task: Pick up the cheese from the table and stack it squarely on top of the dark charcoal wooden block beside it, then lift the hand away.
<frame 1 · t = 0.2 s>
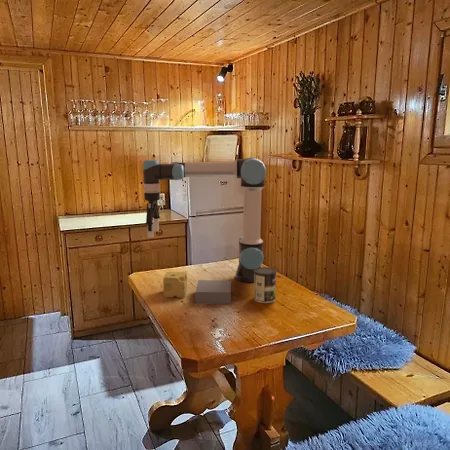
hand: (153, 234, 203), 27 cm above the table, tool pointing down, fingers open, 13 cm apart
cheese: (175, 294, 198), on the table
charcoal block: (213, 297, 194), on the table
coffee can: (264, 299, 191), on the table
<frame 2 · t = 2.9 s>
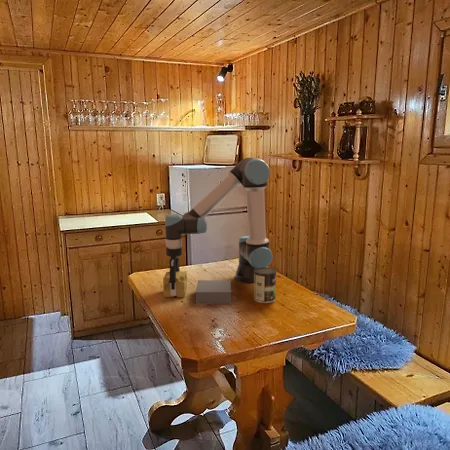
hand: (175, 291, 198), 1 cm above the table, tool pointing down, fingers closed on cheese, 10 cm apart
cheese: (175, 294, 198), on the table, touching gripper
everything else where it was.
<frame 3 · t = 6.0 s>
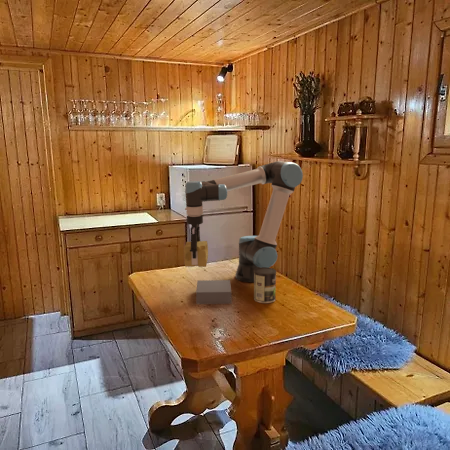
hand: (196, 261, 192), 17 cm above the table, tool pointing down, fingers closed on cheese, 10 cm apart
cheese: (196, 264, 193), point 16 cm above the table, touching gripper
everything else where it was.
when the fingers open (9 cm above the table, at t = 8.8 s): cheese drops 2 cm, point 5 cm above the table.
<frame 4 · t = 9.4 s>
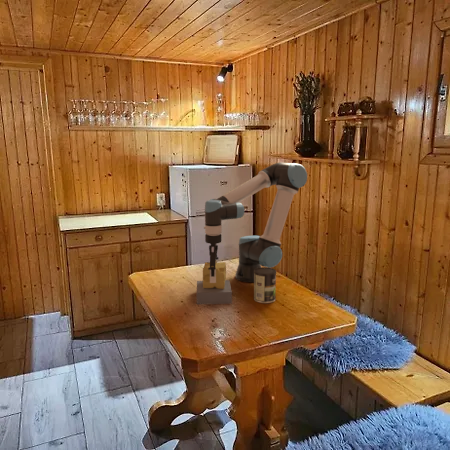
hand: (213, 277, 192), 10 cm above the table, tool pointing down, fingers open, 13 cm apart
cheese: (214, 285, 194), point 5 cm above the table
everything else where it was.
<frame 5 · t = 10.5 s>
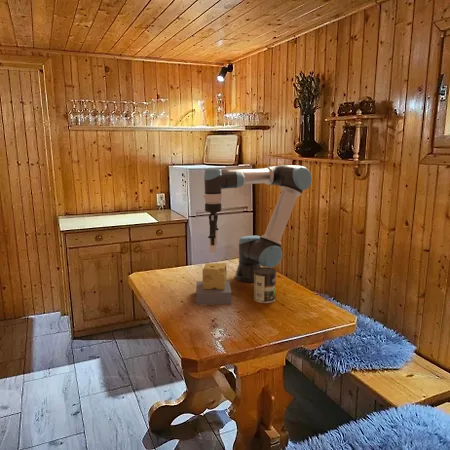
hand: (213, 247, 189), 24 cm above the table, tool pointing down, fingers open, 13 cm apart
cheese: (214, 286, 193), point 5 cm above the table
everything else where it was.
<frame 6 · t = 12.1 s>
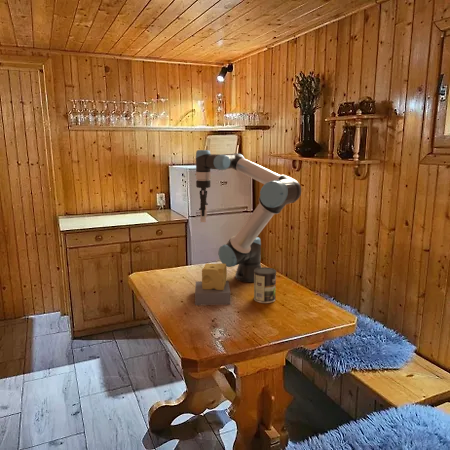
hand: (203, 219, 218), 32 cm above the table, tool pointing down, fingers open, 13 cm apart
cheese: (214, 286, 192), point 5 cm above the table, touching charcoal block
charcoal block: (212, 298, 193), on the table, touching cheese
everything else where it was.
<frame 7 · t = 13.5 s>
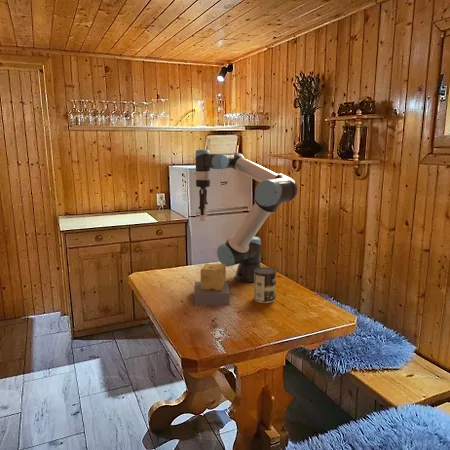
hand: (203, 218, 220), 32 cm above the table, tool pointing down, fingers open, 13 cm apart
nothing on the table moved.
at the end: cheese inside the target area on the charcoal block (0.9 cm from its centre), point 5.8 cm above the charcoal block's base; cheese tilted 0°; the gripper is holding nothing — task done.
